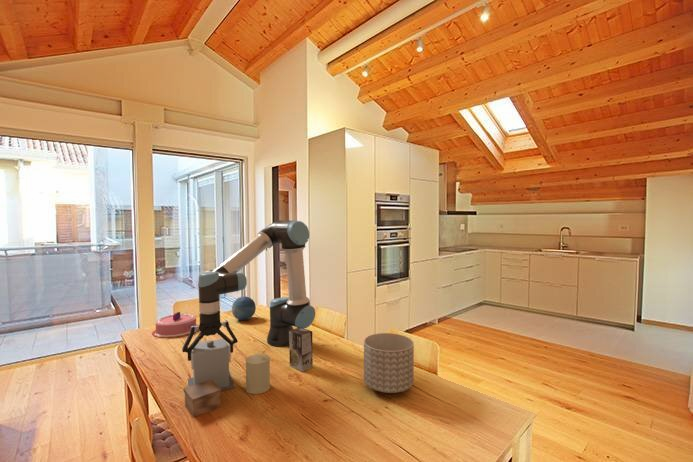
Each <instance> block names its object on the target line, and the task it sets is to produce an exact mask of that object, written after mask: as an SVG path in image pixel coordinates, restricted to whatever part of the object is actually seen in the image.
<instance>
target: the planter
mask: <svg viewBox="0 0 693 462" xmlns="http://www.w3.org/2000/svg"><path fill="white" fill-rule="evenodd" d="M414 344H415V343H414V340H412V339H411V338H410V337H408V336H405V335H404V334H403V335H402V334H399V333H391V332H379V333H375V334H371V335H370V334H369V335H368V336H366V337H365V338H364V339H363V382H364V383H365V385H366V386H367V387H368V388H370V389H371V390H374V391H377V392H381V393H385V394H396V393H397V394H398V393H403V392H405V391H407V390H410V389H411V388H412V387H413V385H414V376H415V375H414V369H415V368H414V367H415V365H414V361H415V360H414V358H415V357H414V355H415V353H414V352H415V350H414V349H415V345H414Z"/></svg>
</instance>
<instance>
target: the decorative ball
mask: <svg viewBox="0 0 693 462" xmlns="http://www.w3.org/2000/svg"><path fill="white" fill-rule="evenodd" d="M256 308H257V307H256V302H255V301H254V299H252V298H251V297H248V296H240V297H238V298H237V299H236V298H235V300H234V301H233V302H232V305H231V314H232V315H233V317H234V318H236V319H237V320H239V321H248V320H249V319H251V318H252V317H253V316H254V315H255V313H256Z"/></svg>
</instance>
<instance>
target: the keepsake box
mask: <svg viewBox="0 0 693 462" xmlns="http://www.w3.org/2000/svg"><path fill="white" fill-rule="evenodd" d="M183 392H184V406H185V408H186V410H188V412H189V413H190V415H192V417H193V418H196V417H197V416H200V415H203V414H205V413H208V412H210V411H213V410H216V409H218V408H221V406H222V405H221V402H222V401H221V399H222V398H221V393H223V392H222V389H221V388H220V387H219V386H218V385H217V384H216V383H214V382H213V381H212V380H208V381H205V382H202V383H199V384H196V385H192V386H189V387H188V386H186V387H184V388H183Z"/></svg>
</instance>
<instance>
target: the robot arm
mask: <svg viewBox="0 0 693 462" xmlns="http://www.w3.org/2000/svg"><path fill="white" fill-rule="evenodd" d="M309 239H310V230H309V227H308V226H307V225H306V223H304V222H303V221H301V220H295V219H294V220H277V221H274V222H272V223H270V224H269V225H267V226H266V227H264V228H262V229H261V230H259V231H258V232H257V235H256V237H254V238H252V240H251V241H249V242H248V243H247V244H245V245H244V246H242V248H240V249H239V250H237V251H236V252H235V253H234V254H232V255H231V256H230V257H228V258H227V259H226V260H224V262H222V263H220V265H218V266H217V267H216V268H214V269H209V270H206V271H205V272H201V273H200V274H199V275H198V281H197V283H198V284H197V287H198V311H199V313H198V314H199V324H198V325H199V326H194V325H192V326H191V331H190V334H189V335H187V338H186V339H185V342H184V344H183V346H182V353H187V361H188V362H189V361H190V363H191V365H190V366H191V370H193V369H194V361H193V349H194V348H195V346H196V345H197V344H198V343H199V342H201V340H202V339H203V338H204V336H205V337H210V336H215V335H216V334H217V335H218V336H219V337H221V339H224V340H225V341H226V343H227V346H228V348H229V363H231V362H232V361H231V359H232V356H231V353H232V354H233V353H234V345H235V344H237V343H238V342H239V341H238V338H237V337H236V335H235V334H234V332H233V331H232V329H231V327H230V323H229V321H228V320H225V321H222V322H221V312H220V309H221V305H220V303H221V302H220V300H221V299H220V297H221V295H224V294H231V293H234V292H235V293H237V292H239V291H242V290H244V289H246V287H247V284H248V279H247V277H246V275H245V273H243V272H240V271H241V270H242V269H243V268H244V267H246V266H247V265H248V264H249V263H251V262H252V261H253V260H254V259H255V258H257V257H258V256H259V255H261V254H262V253H263V252H264V251H265V250H266V249H270V248H272V247H273V246H275V245H277V244H281V249H282V250H283V252H284V253H285V254H284V255H285V263H286V276H287V286H288V287H287V288H288V296H283V297H276V298H273V299H271V301H270V302H269V303H270V304H269V321H270V322H269V325H270V326H269V331H268V334H267V336H266V343H267V344H268V345H270V346H274V347H286V346H289V331H290V330H293V329H294V327H295V328H299V327H301V328H304V329H308V328H309V327H310V326H311V325H312V324H313V323H314V321H315V317H316V309H315V308H314V306H313V305H311V300H310V298H309V297H308V296H307V291H306V290H307V289H306V276H305V265H304V261H305V260H304V251H303V250H304V249H305V248H306V243H308V241H309ZM222 326H223V328H226V331H227V332H228V334H229V335H230V337H231V338H229V337H228V336H227V335H226V334H225V333H224V332H223V331H222V330H221V328H222ZM197 329H199V330H198V331H200V332H199V333H198V335H197V336H196V337H195V339H193V337H194V335H195V333H196V332H198V331H197ZM192 339H193V341H192ZM191 341H192V342H191ZM190 343H191V344H190Z"/></svg>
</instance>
